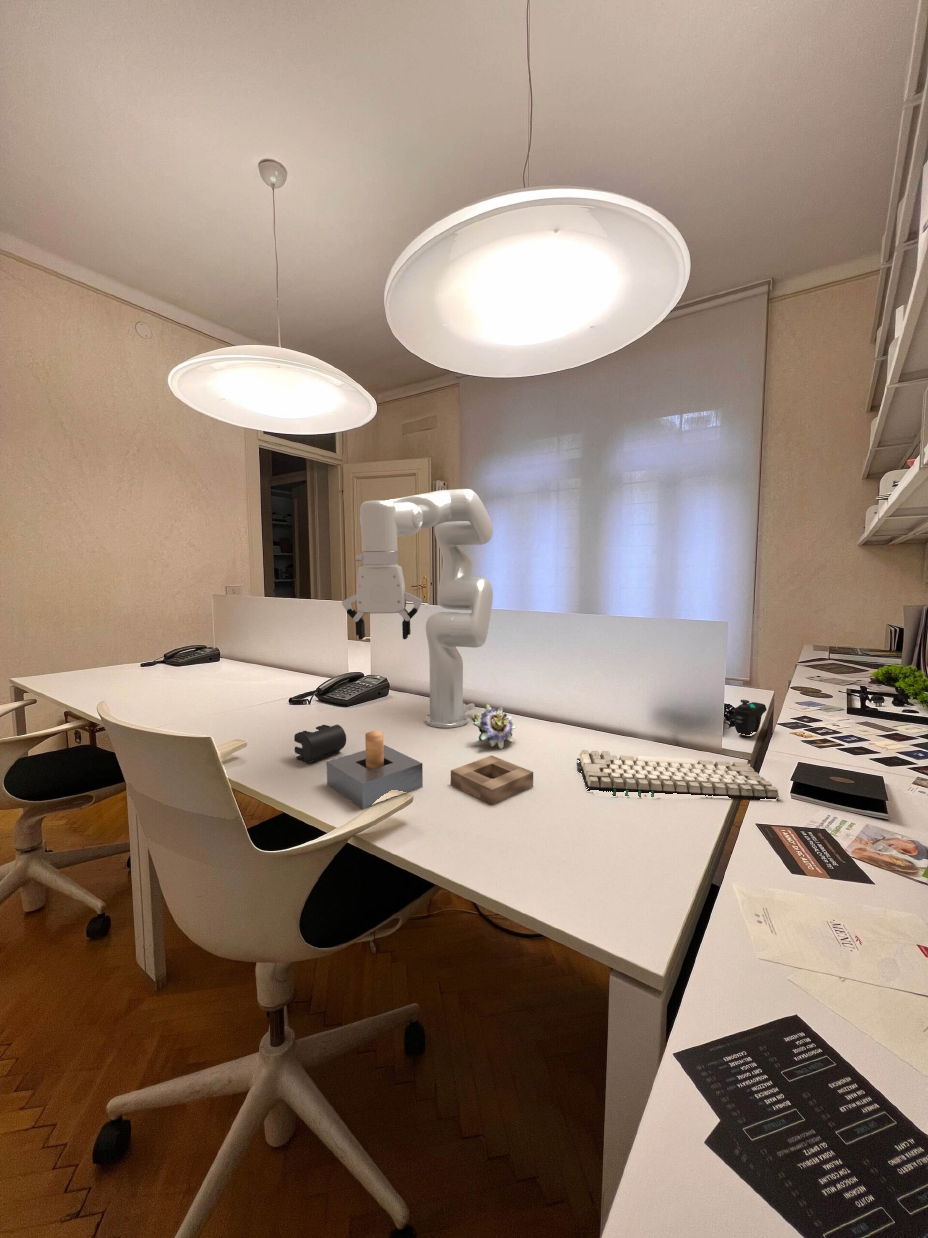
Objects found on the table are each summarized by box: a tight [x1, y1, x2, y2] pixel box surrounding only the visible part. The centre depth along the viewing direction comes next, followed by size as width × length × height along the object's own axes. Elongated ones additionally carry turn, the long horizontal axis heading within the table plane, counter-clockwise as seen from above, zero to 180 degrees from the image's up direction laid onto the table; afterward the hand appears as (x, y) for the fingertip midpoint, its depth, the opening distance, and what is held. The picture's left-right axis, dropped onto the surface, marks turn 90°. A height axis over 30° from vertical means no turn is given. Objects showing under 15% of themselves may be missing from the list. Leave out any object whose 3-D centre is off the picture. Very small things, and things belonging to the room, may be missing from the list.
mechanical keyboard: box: [576, 749, 780, 802], centre depth 106 cm, size 38×19×3 cm, turn 84°
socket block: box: [326, 744, 424, 810], centre depth 103 cm, size 14×14×5 cm
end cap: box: [293, 723, 347, 764], centre depth 118 cm, size 10×7×7 cm
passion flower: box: [470, 703, 518, 750], centre depth 127 cm, size 11×11×12 cm
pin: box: [364, 730, 385, 770], centre depth 102 cm, size 4×4×11 cm
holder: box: [450, 755, 534, 806], centre depth 103 cm, size 12×12×3 cm
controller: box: [733, 699, 767, 735], centre depth 133 cm, size 4×12×10 cm, turn 127°
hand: (383, 638), depth 110 cm, fingers open, 9 cm apart
